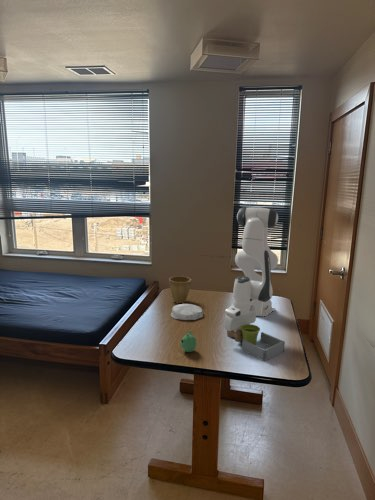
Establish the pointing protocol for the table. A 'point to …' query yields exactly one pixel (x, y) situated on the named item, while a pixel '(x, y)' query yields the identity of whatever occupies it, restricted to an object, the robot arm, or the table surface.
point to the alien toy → (188, 342)
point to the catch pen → (261, 353)
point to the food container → (186, 312)
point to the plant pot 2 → (250, 333)
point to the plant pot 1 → (179, 288)
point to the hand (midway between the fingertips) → (240, 334)
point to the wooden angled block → (236, 334)
